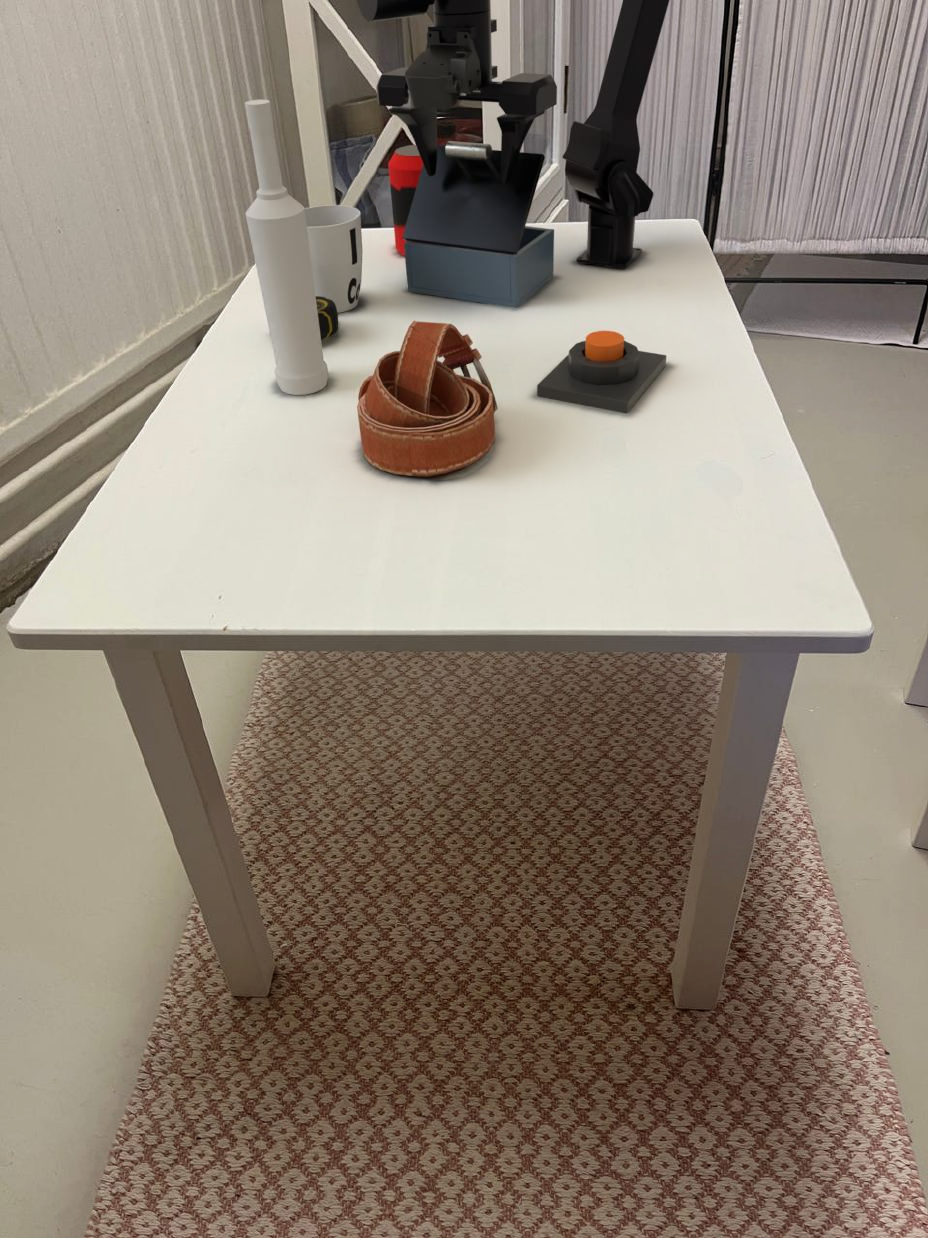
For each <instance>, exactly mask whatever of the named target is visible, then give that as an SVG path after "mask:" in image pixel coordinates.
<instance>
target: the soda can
mask: <svg viewBox="0 0 928 1238" xmlns="http://www.w3.org/2000/svg"><path fill="white" fill-rule="evenodd" d="M387 166H388V177H389V186H390V187H389V188H390V199H391V210H392V222H393V232H394V244H395V250H396V251H397V252H398V253H399V254H400V255H401V256H404V257H405V250H404V243H405V242H406V240H404V239H403V238H402V237H403V233H404V230H405V226H406V223H407V219H408V216H409V212H410V209H411V205H412V201H413V198H414V194H415V191H416V187H417V184H418V180H419V177H420V173H421V170H422V166H423V161H422V159H421V156H420V154H419V151H418V149H417V146H416V144H411V145H405V146H401V147H398V148H396V149H395V150H394V153H393V154H392V157H391V158H390V159H389V161H388V163H387Z"/></svg>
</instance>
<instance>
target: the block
mask: <svg viewBox="0 0 928 1238" xmlns="http://www.w3.org/2000/svg"><path fill="white" fill-rule="evenodd" d="M585 342H586V339H585V340H582V341H579V342H576V343H574V345H573V346H572V347H571V348H570V349H569V350H568V354H567V355H566V356H565V357H564V358H563V359H562V360H561V361H560V362H559V363H558V364H557V365H556V366H555V367H554V368H553V369H552V370H551V371H550V372H549V373H548V374H547V375H546V376H545V377H544V378H543V379H542V380H541V381H540V382H539V383H538V384H537V385H536V396H537V397H539V398H543V399H550V400H555V401H560V402H566V403H570V404H576V405H581V406H587V407H592V408H596V409H601V410H608V411H612V412H617V413H623V414H628V413H629V412H630V410H631V409H632V408H633V406H635V404H636V403H637V402H638V401H639V399H640V398H641V397H642V395H643V394H644V393H645V392H646V390H648V388H649V387H650V386H651V385H652V383H653V382H654V381H655V380H656V378H657V377H658V376H659V375H660V373H661V372H662V371H663V370H664V368H666V364H667V363H666V362H667V354H661V353H654V352H650V351H643V350H639V349H638V347H637V345H634V344H632V343H630V342H629V341H626V340H624V350H623V357H622V358H621V359H618V360H615V361H604V362H600V361H595V360H590V359H588V358H587V357H585Z"/></svg>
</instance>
